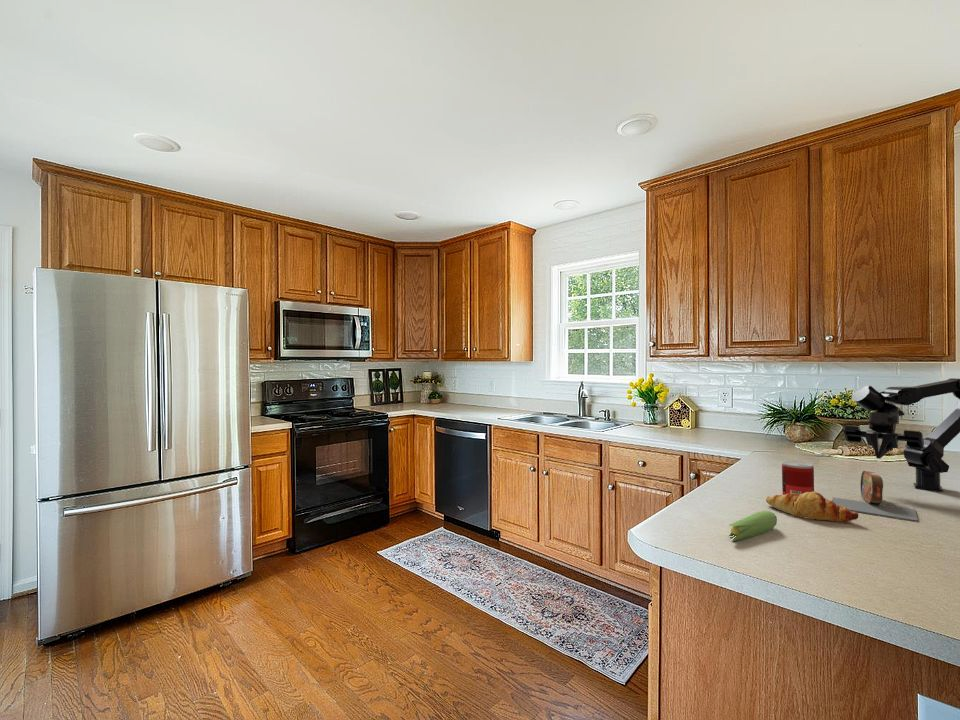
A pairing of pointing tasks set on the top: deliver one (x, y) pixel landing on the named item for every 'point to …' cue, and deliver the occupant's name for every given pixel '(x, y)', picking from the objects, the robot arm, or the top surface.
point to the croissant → (811, 507)
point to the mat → (877, 509)
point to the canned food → (797, 477)
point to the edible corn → (753, 525)
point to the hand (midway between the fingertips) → (878, 457)
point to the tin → (871, 487)
